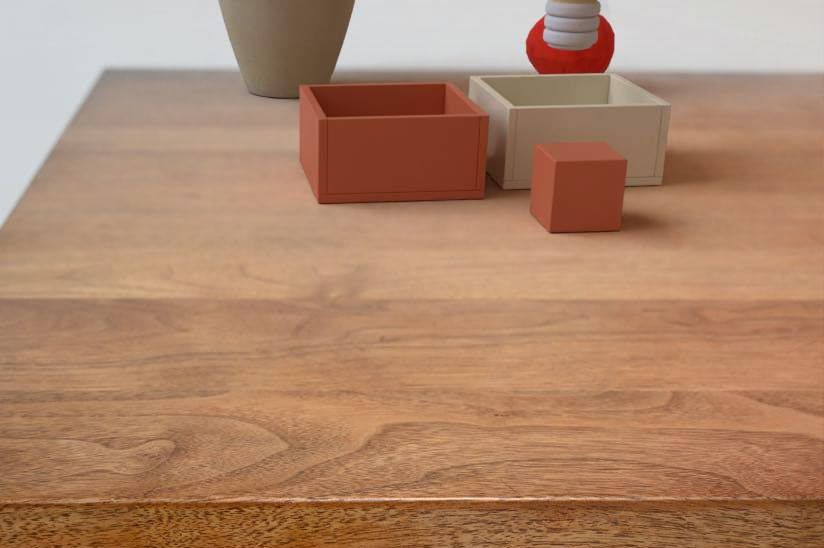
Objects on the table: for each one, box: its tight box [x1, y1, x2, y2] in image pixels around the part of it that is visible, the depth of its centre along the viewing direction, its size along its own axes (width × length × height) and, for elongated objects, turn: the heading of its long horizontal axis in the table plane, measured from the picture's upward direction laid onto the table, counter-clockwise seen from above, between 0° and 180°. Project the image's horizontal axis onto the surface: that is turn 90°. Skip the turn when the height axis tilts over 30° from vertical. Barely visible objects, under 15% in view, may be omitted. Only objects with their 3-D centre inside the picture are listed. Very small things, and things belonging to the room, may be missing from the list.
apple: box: [525, 13, 616, 75], centre depth 115 cm, size 8×8×7 cm
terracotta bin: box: [298, 81, 489, 204], centre depth 87 cm, size 11×11×6 cm
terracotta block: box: [528, 142, 628, 234], centre depth 78 cm, size 4×4×4 cm
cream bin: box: [468, 72, 672, 191], centre depth 90 cm, size 11×11×6 cm
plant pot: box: [217, 0, 356, 99], centre depth 113 cm, size 15×15×16 cm
